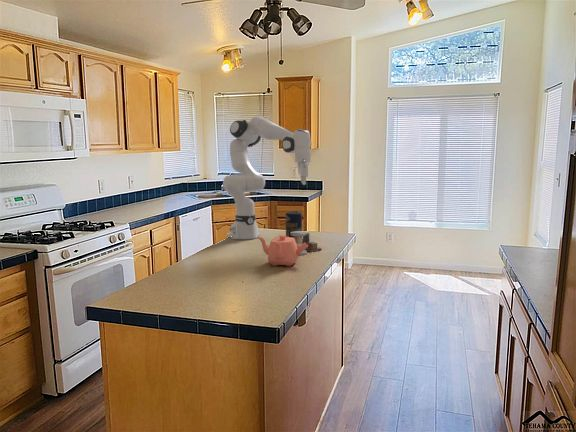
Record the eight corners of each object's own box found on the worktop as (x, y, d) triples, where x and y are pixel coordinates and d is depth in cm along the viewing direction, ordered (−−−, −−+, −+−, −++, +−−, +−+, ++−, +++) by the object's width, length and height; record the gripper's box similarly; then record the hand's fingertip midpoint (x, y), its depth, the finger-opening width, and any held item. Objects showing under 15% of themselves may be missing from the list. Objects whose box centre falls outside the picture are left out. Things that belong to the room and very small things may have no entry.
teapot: (277, 271, 205) (276, 241, 203) (257, 262, 220) (256, 234, 218) (309, 264, 215) (309, 235, 213) (288, 256, 230) (287, 230, 228)
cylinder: (302, 246, 246) (302, 232, 245) (303, 245, 249) (303, 231, 248) (309, 247, 245) (308, 232, 244) (309, 245, 249) (309, 231, 248)
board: (291, 246, 253) (291, 239, 252) (301, 244, 257) (301, 237, 256) (311, 252, 238) (310, 244, 238) (321, 250, 242) (321, 242, 241)
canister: (283, 240, 268) (282, 210, 265) (297, 238, 272) (297, 208, 269) (290, 243, 260) (289, 212, 257) (304, 241, 264) (304, 211, 261)
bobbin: (287, 253, 237) (287, 232, 236) (300, 250, 242) (300, 230, 240) (296, 256, 231) (296, 235, 229) (310, 253, 235) (309, 232, 233)
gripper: (310, 159, 241) (310, 185, 243) (307, 158, 261) (307, 182, 263) (298, 159, 241) (299, 185, 243) (296, 158, 261) (296, 182, 263)
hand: (303, 183), depth 253 cm, fingers open, 8 cm apart
